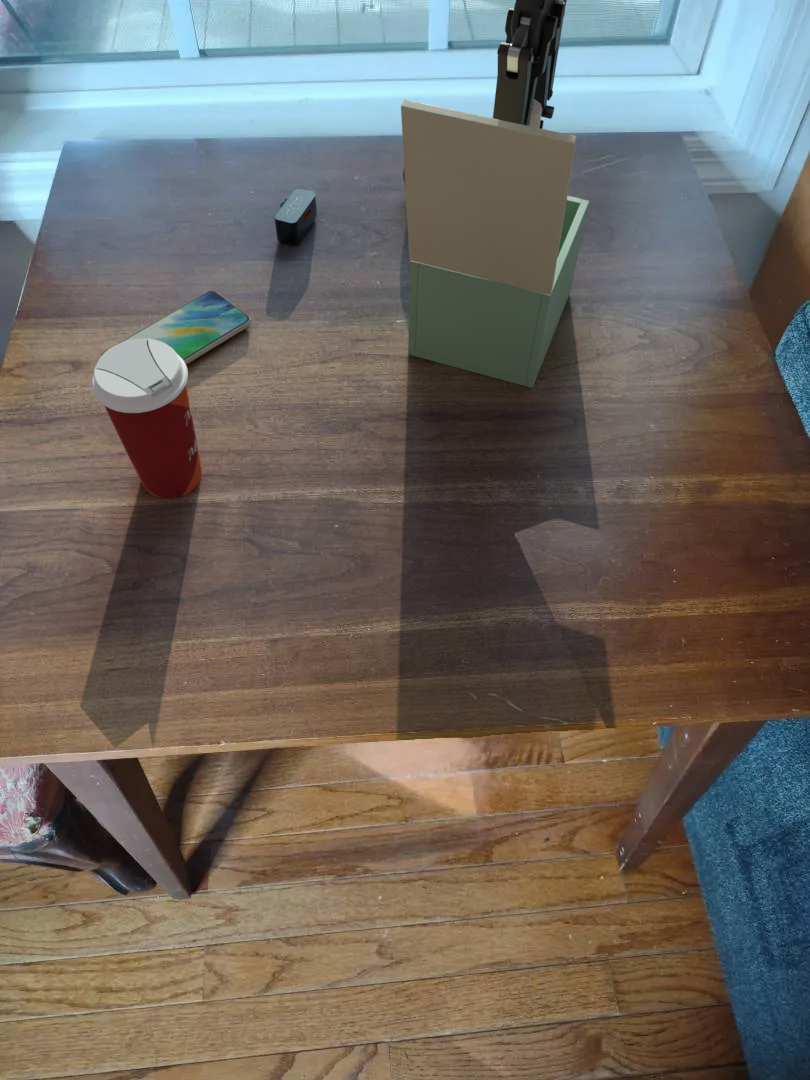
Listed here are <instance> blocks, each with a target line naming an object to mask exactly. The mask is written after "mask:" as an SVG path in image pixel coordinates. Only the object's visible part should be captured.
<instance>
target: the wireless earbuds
mask: <svg viewBox="0 0 810 1080" xmlns="http://www.w3.org/2000/svg"><path fill="white" fill-rule="evenodd" d="M279 207H280V208H279V210H278V211H277V212H276V213H275V215H274V224H275V225H274V226H275V234H276V238H277V240H278V242H281V243H283V244H287V245H292V246H297V245H298V244H299V243H300V241H302V239H303V237H304V236H305V234H306V233H307V232H308V230H309V229H310V228H311V226H312V225H313V223H314V221H315V220H316V219H317V216H318V211H317V197H316V193H315V192H313V191H310V190H306V189H302V188H296V189H294V190H292V192H291V193H290V194H289V196H288V197H287V198H286V199H284V201H282V202H281V203H280V206H279Z"/></svg>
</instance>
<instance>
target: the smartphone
mask: <svg viewBox="0 0 810 1080" xmlns="http://www.w3.org/2000/svg"><path fill="white" fill-rule="evenodd" d="M251 325H252V318H251V316H249V314H247V313H246V312H244V311H243V310H242V309H240V308H239V307H238V306H236V305H235V304H234V303H232V302H231V301H229V300H228V299H227V298H225V297H224V296H223V295H222V294H221V293H219V292H217V291H216V290H208V291H206V292H204V293H202V294H200V295H199V296H197V297H196V298H194V299H192V300H191V301H188V302H187V303H185V304H183V305H182V306H180V307H178V308H176V309H175V310H173V311H171V312H170V313H168V314H166V315H163V317H161V318H159V319H157V320H156V321H153V323H151V324H148V325H147V326H145V327H143V328H141V329H140V330H138V331H136V332H135V333H133V334H131V335H129V336H128V337H126V338H125V339H123V340H121V341H119V342H118V343H115V344H114V345H112V346H110V347H109V348H107V349H105V350H103V351H102V352H101V353H100V355H99V358H100V357H101V356H102V355H103V354H104V353H105V352H106V351H107V350H109V349H110V348H112V347H113V346H115V345H117V344H119V343H122V342H124V341H128V340H134V339H147V340H148V339H154V340H158V341H161V342H163V343H165V344H167V345H168V346H170V347H171V348H172V349H173V350H174V351H175V352H176V353H177V354H178V355H179V356H180V357H181V358H182V359H183V361H184V362H185V364H186V365H188V364H190V363H191V362H193V361H195V360H196V359H198V358H200V357H201V356H203V355H204V354H206V353H207V352H209V351H211V350H212V349H214V348H216V347H218V346H219V345H221V344H223V343H224V342H227V340H229V339H231V338H232V337H234V336H235V335H238V334H239V333H240V332H242V331H244V330H246V329H247V328H249V327H250V326H251Z"/></svg>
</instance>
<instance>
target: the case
mask: <svg viewBox="0 0 810 1080" xmlns="http://www.w3.org/2000/svg"><path fill="white" fill-rule="evenodd" d="M589 207H590V200H588V199H583V198H579V197H575V196H571V195H568V196H567V202H566V208H565V215H564V221H563V227H562V233H561V239H560V246H559V252H558V258H557V264H556V270H555V276H554V283H553V289H552V292H551V294H550V295H547V294H543V293H539V292H535V291H531V290H527V289H523V288H519V287H515V286H511V285H507V284H503V283H499V282H495V281H491V280H487V279H483V278H479V277H475V276H471V275H467V274H463V273H459V272H455V271H451V270H447V269H443V268H439V267H435V266H431V265H427V264H423V263H419V262H415V261H411V260H410V264H409V265H410V267H409V268H410V269H409V305H408V306H409V309H408V339H407V340H408V345H407V346H408V347H407V355H408V356H412V357H416V358H420V359H424V360H426V361H427V360H428V361H431V362H434V363H438V364H442V365H446V366H449V367H452V368H453V367H454V368H457V369H460V370H463V371H468V372H471V373H475V374H479V375H483V376H485V377H486V376H487V377H490V378H494V379H498V380H501V381H504V382H505V381H506V382H509V383H512V384H516V385H520V386H523V387H527V388H531V389H533V388H534V386H535V383H536V381H537V378H538V376H539V373H540V371H541V368H542V365H543V364H544V360H545V358H546V355H547V353H548V351H549V348H550V345H551V343H552V340H553V337H554V335H555V332H556V331H557V327H558V325H559V323H560V320H561V317H562V314H563V312H564V310H565V307H566V305H567V302H568V300H569V297H570V294H571V289H572V284H573V279H574V275H575V271H576V266H577V261H578V258H579V253H580V248H581V243H582V238H583V233H584V229H585V226H586V225H585V224H586V221H587V215H588V211H589Z"/></svg>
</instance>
